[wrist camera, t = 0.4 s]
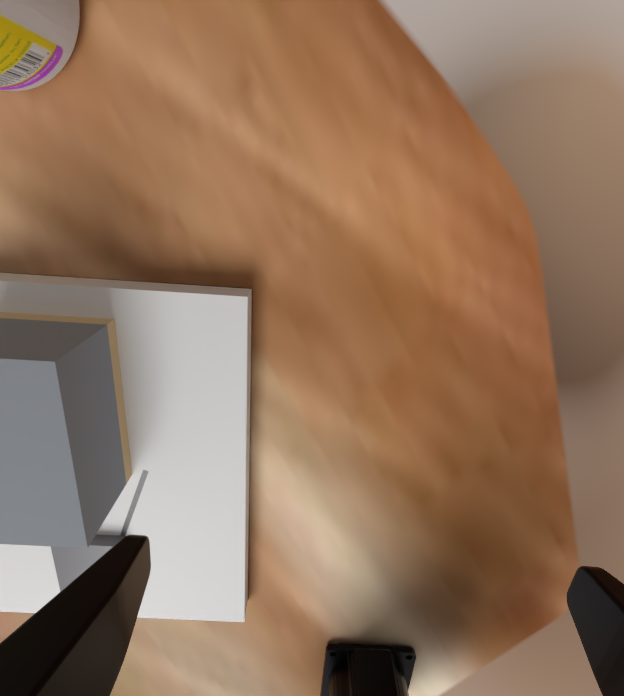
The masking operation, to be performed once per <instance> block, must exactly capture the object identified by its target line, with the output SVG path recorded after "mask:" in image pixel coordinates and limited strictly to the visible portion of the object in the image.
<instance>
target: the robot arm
mask: <svg viewBox="0 0 624 696" xmlns="http://www.w3.org/2000/svg"><path fill="white" fill-rule="evenodd" d="M150 570H151V558H150V542H149V538H148V537H147V536H145V535H133V534H130V535H127V536H125V537H124V538H123V539H121V540H120V541H119V542H118V543H117V544H116V545H114V546H113V547H112V548H111V549H110V550H109V551H107V552H106V553H105V554H104V555H103V556H102V557H100V558H99V559H98V560H97V561H96V562H95V563H93V564H92V565H91V566H90V567H89V568H88V569H86V570H85V571H84V572H83V573H82V574H81V575H79V576H78V577H77V578H76V579H75V580H74V581H72V582H71V583H70V584H69V585H68V586H67V587H65V588H64V589H63V590H62V591H61V592H60V593H58V594H57V595H56V596H55V597H54V598H53V599H51V600H50V601H49V602H48V603H47V604H46V605H44V606H43V607H42V608H41V609H40V610H39V611H37V612H36V613H35V614H34V615H33V616H32V617H30V618H29V619H28V620H27V621H26V622H25V623H23V624H22V625H21V626H20V627H19V628H18V629H16V630H15V631H14V632H13V633H12V634H11V635H9V636H8V637H7V638H6V639H5V640H4V641H2V642H1V643H0V696H110V694H111V691H112V689H113V686H114V684H115V681H116V679H117V676H118V674H119V671H120V669H121V666H122V664H123V661H124V658H125V655H126V652H127V649H128V645H129V642H130V639H131V636H132V632H133V629H134V626H135V622H136V619H137V616H138V612H139V609H140V606H141V602H142V599H143V596H144V592H145V589H146V586H147V583H148V579H149V575H150ZM567 604H568V607H569V610H570V613H571V615H572V618H573V620H574V623H575V626H576V628H577V631H578V634H579V636H580V639H581V641H582V644H583V647H584V650H585V652H586V655H587V657H588V660H589V663H590V665H591V668H592V671H593V673H594V676H595V678H596V680H597V683H598V685H599V688H600V690H601V692H602V695H603V696H624V584H623V583H621V582H620V581H619V580H617V579H616V578H615V577H613V576H612V575H611V574H609V573H608V572H607V571H605V570H604V569H602V568H599V567H589V566H581V567H580V568H578V569H577V571H576V573H575V576H574V578H573V580H572V582H571V585H570V587H569V589H568V592H567ZM415 659H416V655H415V650H414V649H413V648H411V647H397V646H374V645H350V644H330V645H328V646H327V647H326V652H325V660H324V668H323V677H322V685H321V694H320V696H409V695H408V688H409V684H410V680H411V676H412V672H413V667H414V663H415Z"/></svg>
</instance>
